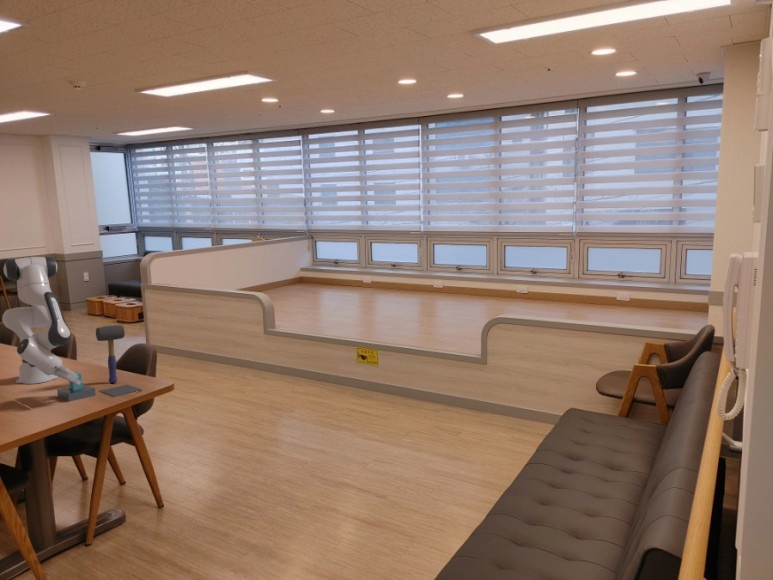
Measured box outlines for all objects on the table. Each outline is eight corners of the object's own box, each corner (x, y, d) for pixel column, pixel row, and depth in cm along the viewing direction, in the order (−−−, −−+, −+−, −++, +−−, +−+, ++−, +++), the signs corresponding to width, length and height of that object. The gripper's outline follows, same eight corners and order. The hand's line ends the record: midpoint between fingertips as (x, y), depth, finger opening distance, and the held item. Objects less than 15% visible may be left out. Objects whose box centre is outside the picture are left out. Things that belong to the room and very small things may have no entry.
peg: (70, 396, 271) (68, 373, 270) (79, 394, 274) (77, 371, 273) (74, 397, 269) (72, 374, 267) (82, 395, 272) (81, 373, 270)
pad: (99, 392, 279) (99, 390, 279) (127, 386, 290) (127, 384, 290) (113, 397, 270) (113, 396, 270) (142, 391, 281) (142, 389, 281)
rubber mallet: (123, 379, 301) (120, 323, 298) (128, 382, 296) (125, 325, 292) (98, 384, 293) (94, 326, 290) (102, 387, 288) (98, 328, 284)
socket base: (57, 397, 271) (57, 389, 270) (83, 391, 280) (83, 383, 279) (69, 402, 263) (68, 394, 263) (95, 396, 273) (95, 388, 272)
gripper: (66, 362, 257) (89, 379, 265) (46, 356, 269) (70, 372, 278) (56, 374, 254) (80, 391, 262) (37, 367, 266) (61, 383, 275)
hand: (75, 381), depth 270 cm, fingers open, 8 cm apart
